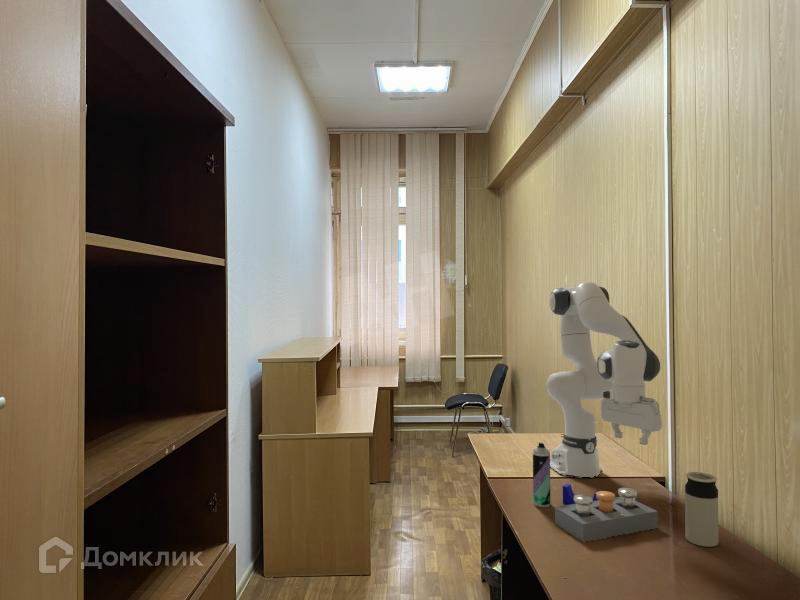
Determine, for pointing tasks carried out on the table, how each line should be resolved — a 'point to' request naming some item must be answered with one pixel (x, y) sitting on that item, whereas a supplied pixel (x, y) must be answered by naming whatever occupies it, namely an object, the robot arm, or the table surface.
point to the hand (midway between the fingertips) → (630, 441)
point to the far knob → (627, 497)
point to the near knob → (583, 505)
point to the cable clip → (571, 495)
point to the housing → (606, 520)
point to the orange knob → (605, 501)
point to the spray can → (541, 476)
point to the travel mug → (701, 509)
